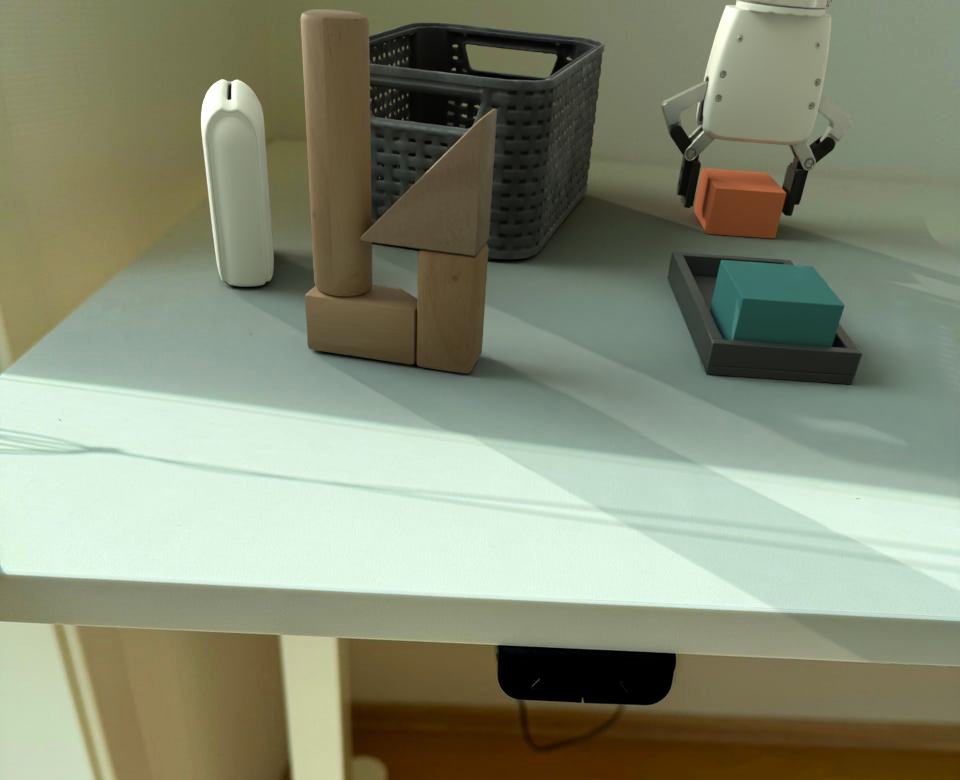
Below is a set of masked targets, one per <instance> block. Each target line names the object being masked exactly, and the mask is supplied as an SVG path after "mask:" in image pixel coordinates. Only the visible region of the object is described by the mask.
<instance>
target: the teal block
mask: <svg viewBox="0 0 960 780" xmlns="http://www.w3.org/2000/svg"><path fill="white" fill-rule="evenodd" d="M844 309H845V304H844V303H843V302H842V301H841V300H840V297H838V295H837V294H836V293H835V292H834V290H833V289H832V288H831V287H830V286H829V284H827V282H826V281H825V280H824V278H823V277H822V276H821V275H820V274H819V272H818V271H817V270H816V269H815V268H814V266H810V265H798V264H796V265H795V264H794V265H785V264H772V263H758V262H744V261H730V260H721V262H720V266H719V271H718V276H717V280H716V285H715V289H714V294H713V299H712V303H711V308H710V313H711V315H712V317H713V319H714V321H715V324H716V326H717V328H718V330H719V332H720V334H721V336H722V338H723V339H725V340H739V341H753V342H767V343H781V344H795V345H810V346H824V347H832V344H833V341H834V338H835V335H836V331H837V328H838V325H839V324H840V322H841V318H842V316H843V315H842V314H843V311H844Z"/></svg>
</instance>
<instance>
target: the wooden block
mask: <svg viewBox="0 0 960 780" xmlns="http://www.w3.org/2000/svg"><path fill="white" fill-rule="evenodd" d="M300 34H301V54H302V55H301V56H302V67H303V68H302V72H303V74H302V75H303V89H304V90H303V91H304V92H303V93H304V108H305V109H304V110H305V111H304V112H305V128H306V129H305V131H306V147H307V148H306V149H307V166H308V167H307V168H308V169H307V170H308V188H309V189H308V190H309V202H310V203H309V209H310V225H311V228H310V229H311V244H312V245H311V247H312V262H313V263H312V265H313V279H314V280H313V281H314V282H313V283H314V287H312V288H311V289H309V291H307V293H305V296H304V301H305V302H304V303H305V304H304V305H305V319H306V320H305V321H306V339H307V347H308V349H309V350H312V351H318V352H325V353H331V354H332V353H333V354H336V355H337V354H338V355H344V356H352V357H358V358H363V359H365V358H366V359H370V360H378V361H383V362H384V361H385V362H391V363H397V364H404V365H411V366H412V365H414V364H416V365H417V366H418V367H420V368H424V369H425V368H427V369H433V370H439V371H444V372H445V371H446V372H453V373H459V374H465V375H466V374H470V373H471V372H472V370H473V369H474V366H475V365H476V363H477V361H478V360H479V358H480V357H481V355H482V353H483V341H484V340H483V339H484V325H485V323H484V322H485V309H486V295H487V294H486V293H487V277H488V263H489V262H488V261H489V260H488V245H487V243H486V242H487V240H488V239H489V229H490V213H491V197H492V181H493V166H494V150H495V134H496V119H497V110H496V109H492V110H491V111H490V112H488V113H487V114H486V115H484V116H483V117H482V118H481V119H479V120H478V121H477V122H476V123H475V124H474V125H473V126H472V127H471V128H470V129H469V130H468V131H467V132H466V133H465V134H464V135H463V136H462V137H461V138H460V139H459V140H458V141H457V142H456V143H455V144H454V145H453V146H452V147H451V148H450V149H449V150H448V151H447V152H446V153H445V154H444V155H443V156H442V157H441V158H440V159H439V160H438V161H437V162H436V163H435V164H434V165H433V166H432V167H431V168H430V169H429V170H428V171H427V172H426V173H425V174H424V175H423V176H422V177H421V178H420V179H419V180H418V181H417V182H416V183H415V184H414V185H413V186H412V187H411V188H410V189H409V190H408V191H407V192H406V193H405V194H404V195H403V196H402V197H401V198H400V199H399V200H398V201H397V202H396V203H395V204H394V205H393V206H392V207H391V208H390V209H389V210H388V211H387V212H386V213H385V214H384V215H383V216H382V217H381V218H380V219H379V220H378V221H377V222H375V223H374V224H373V225H372V215H371V139H370V101H371V98H370V89H371V86H370V64H369V63H370V59H369V35H370V22H369V19H368V16H366V15H364V14H363V13H360V12H357V11H351V10H341V9H326V8H325V9H323V8H321V9H319V8H318V9H308V10H306V11H303V12H301V16H300ZM373 243H374V244H380V245H381V244H382V245H389V246H396V247H402V246H404V247H403V248H408V247H411V248H410V249H415V248H419V249H418V250H419V251H418V253H417V293H416V295H417V297H416V296H414V295H412V294H411V293H409V292H408V291H406V290H405V289H403V288H399V287H391V286H386V285H385V286H384V285H378V284H377V285H376V284H373Z"/></svg>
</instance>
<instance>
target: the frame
mask: <svg viewBox="0 0 960 780" xmlns="http://www.w3.org/2000/svg"><path fill="white" fill-rule="evenodd" d="M721 260H730V261H744V262H758V263H772V264H785V265H795V264H794V263H793V261H792V260H791V259H780V258H769V257H768V258H764V257H752V256H740V255H739V256H738V255H723V254H712V253H711V254H710V253H700V252H699V253H696V252H685V251H684V252H683V251H672V252H671V256H670V260H669V261H670V262H669V266H668V273H667V277H666V278H667V280H668V283H669V285H670V288H671V291H672V293H673V295H674V297H675V300H676V302H677V303H676V304H677V305H678V308H679V310H680V312H681V315H682V318H683V320H684V322H685V325H686V327H687V330H688V333H689V335H690V337H691V340H692V342H693V344H694V347H695V350H696V352H697V355H698V356H699V359H700V361H701V364H702V367H703V370H704V371H705V374H706V375H714V376H715V375H716V376H728V377H743V378H744V377H746V378H758V379H759V378H760V379H772V380H787V381H800V382H801V381H802V382H813V383H814V382H816V383H828V384H829V383H830V384H840V385H841V384H845V385H853V383H854V380H855V376H856V373H857V371H858V368H859V365H860V362H861V358H862V356H863V353H862V351H861V350H860V349H859V347H857V345H856V344H855V342H854V341H853V340H852V338H851V337H850V336H849V335H848V333H847V331H845V329H844V328H843V326H842V325H841V324H840V323H839V325H838V328H837V331H836V335H835V338H834V341H833V344H832V347H824V346H810V345H795V344H781V343H767V342H753V341H739V340H725V339H723V338H722V336H721V334H720V332H719V330H718V328H717V326H716V324H715V321H714V319H713V317H712V315H711V313H710V308H711V303H712V299H713V294H714V289H715V285H716V280H717V276H718V271H719V266H720V262H721Z"/></svg>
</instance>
